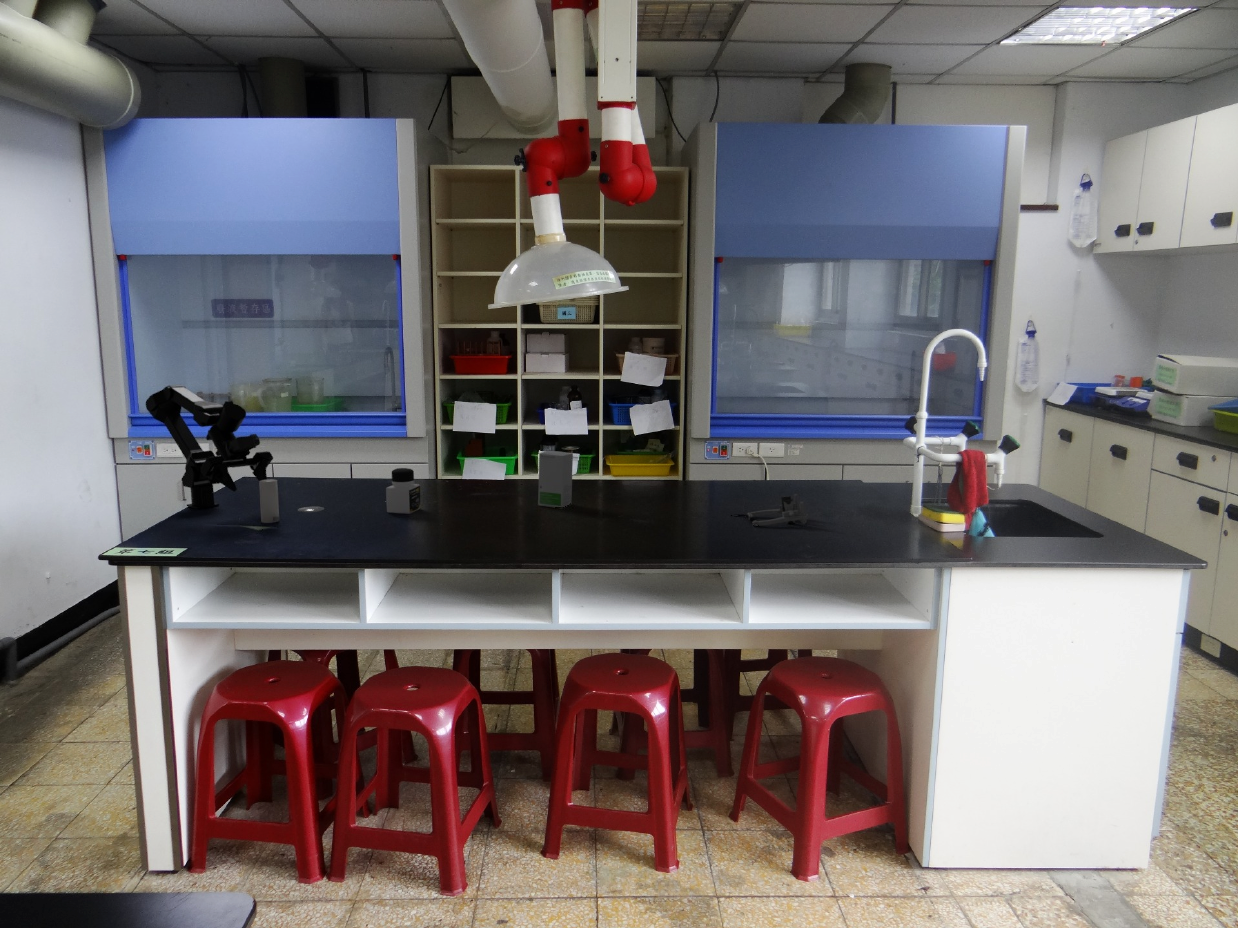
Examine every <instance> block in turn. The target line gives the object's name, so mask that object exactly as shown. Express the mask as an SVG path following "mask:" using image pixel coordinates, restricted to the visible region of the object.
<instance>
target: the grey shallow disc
mask: <svg viewBox="0 0 1238 928" xmlns="http://www.w3.org/2000/svg"><path fill="white" fill-rule="evenodd" d="M323 510H325V508H324V507H322V506H305V507H300V508H298V509H297V512H299V513H315V512H316V513H317V512H320V511H323Z"/></svg>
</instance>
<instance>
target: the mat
mask: <svg viewBox="0 0 1238 928" xmlns="http://www.w3.org/2000/svg"><path fill="white" fill-rule="evenodd" d="M233 525H234V526H239V527H242V528H247V529H250V530H255V531H262V529H263V530H266V529H272V528H276V526H275V525H274V526H272V525H271V526H270V525H254V524H234V523H233ZM271 527H272V528H271Z"/></svg>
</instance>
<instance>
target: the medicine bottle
mask: <svg viewBox="0 0 1238 928" xmlns="http://www.w3.org/2000/svg"><path fill="white" fill-rule="evenodd" d="M391 484H392V485H390V486H387V487H386V488H385V495H386V512H387V513H389V514H390V513H392V514H407V515H408V514H410V515H411V514H412V513H414V512H416V511H418V510H420V509H421V485H420V484H419V483H415V473H414V469H412V468H409V467H398V468H395V469H393V470H392V471H391Z"/></svg>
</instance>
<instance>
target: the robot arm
mask: <svg viewBox="0 0 1238 928" xmlns="http://www.w3.org/2000/svg"><path fill="white" fill-rule="evenodd" d="M145 408H146V411H148V413H149V414H150V415H151V416H152V418H153V419H154V420H157V421H158V422H160V423H162V424H164V426H165V427H166V429H167V430H168V432H169V434H170V435H171V437H172V439H173V440H174V442H175V443H176V445H177V446H178V448H179V450H180V451H181V453H182V455H183V457H184V458H185V459H186V462H185V467H184V470H185V472H184V473H183V475H182V477H181V483H182V486H183V487H185V488H189V489H190V499H191V503H187V504H186V507H187V508H192V509H196V510H201V509H206V508H211V507H216V506H217V507H218V506H220V503H219V502H215V491H214V485H219V484H221V485H223V486H225V487H226V488H228V489H229V490H231V491H232V492H236V491H237V490H238V489H237V486H236V483H235V482H234V480H233V477H232V476H231V474H230V473H229V468H240V467H241V468H242V467H249V468H250V470H252V475H253V476H254V477H255V478H256V479H257V481H261V480H268V477H267V468H268V466H269V465H270V463H271V462H272V461H273V460H274V457H273V454H272V452H271V451H269V450H268V451H267V450H266V451H257V452H255V453H254V455H253V456H252V457H248V458H247V456H249V455H250V454H251V450H252V449H256V448H257V446H260V444H261V441H260V438H259V436H258V434H257V433H252V434H251V433H250V434H249V435H245V436H244V435H243V436H238V437H236V435H235V432H238V430H239V429H240V426H241V425H242V423H243V422H244V420H245V418H246V416H247V412H246V409H245V408H243V407H242V406H240V405H239V404H236V403H234V402H233V400H226V401H224V403H223V405H222V404H221V403H217V402H214V401H212V402H211V401H207V400H204V399H203V398H201V397H200V396H198V395H196V394H195V393H194V392H193V391H191V390H189V389H187V387H186V386H185V385H183V384H173V385H170V384H169V385H167V386H165V387H163V389H162V390H159V391H157V392H154V393H152V394H150V395H149V396H148V398H147V399H146V401H145ZM182 408H183V409H184V410H186V411H187V412H189V413H190V414H191V415H192V416H193V417H192V419H193V421H194V422H195V423H196V424H197V425H198V427H201V428H204V427H210V428H209V429H208V430H207V434H206V436H205V437H206V440H207V441H212V442H213V443H212V444H213V445H214V447H215V448H216V451H215V453H214V452H213V451H212V450H210V449H209V450H203V448H202V447H201V446H200V443H199V442H198V440H197V439H196V438H195V436H194V434H193V433H192V430H190V427H189V426H188V424H187V423H186V421H185V420H184V418H183V417H182V415H181V413H182V412H181V411H182Z"/></svg>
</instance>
